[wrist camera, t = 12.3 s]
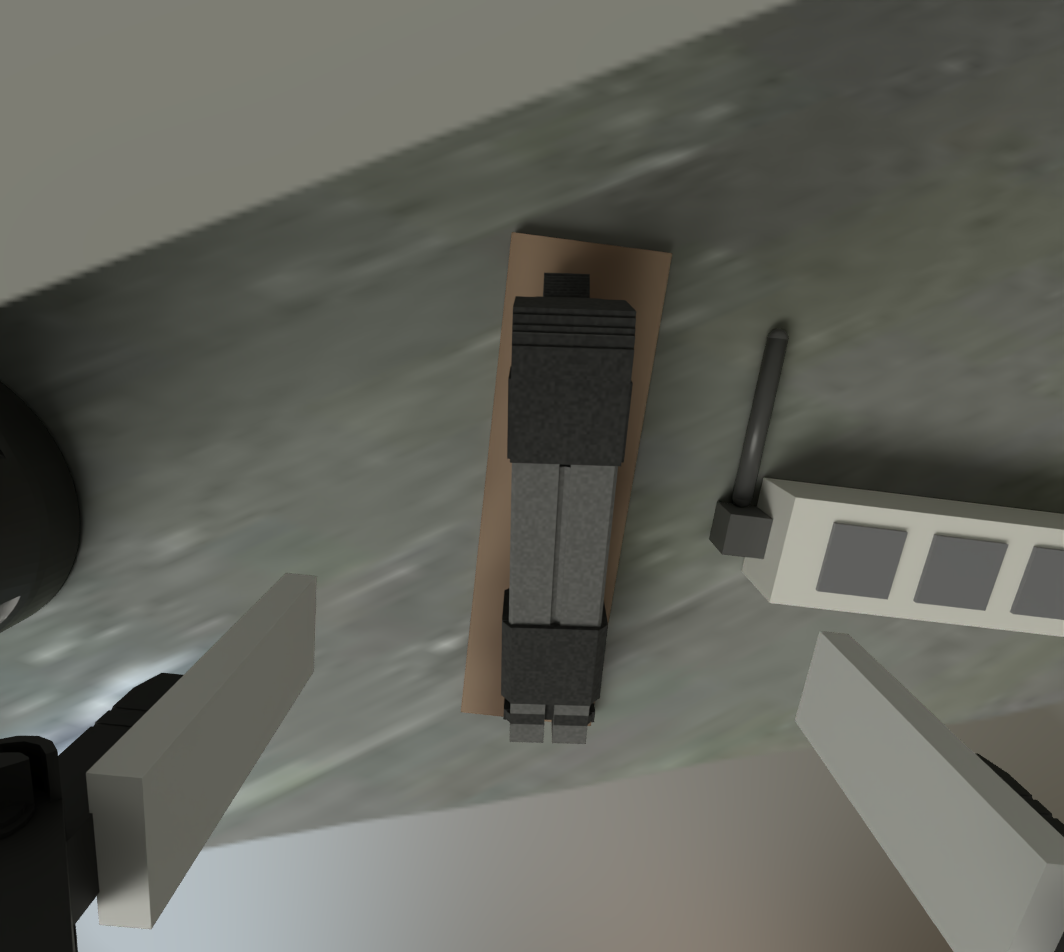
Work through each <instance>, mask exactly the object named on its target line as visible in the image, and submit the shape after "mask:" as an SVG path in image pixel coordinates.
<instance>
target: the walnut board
mask: <svg viewBox="0 0 1064 952" xmlns="http://www.w3.org/2000/svg"><path fill="white" fill-rule="evenodd" d="M671 258H672V253H666V252H659V251H651V250H643V249H636V248H628V247H621V246H613V245H605V244H598V243H590V242H583V241H575V240H567V239H560V238H552V237H545V236H537V235H529V234H522V233H514V232H512V235H511V245H510V254H509V263H508V273H507V282H506V292H505V301H504V311H503V320H502V329H501V339H500V348H499V358H498V367H497V377H496V386H495V395H494V405H493V414H492V424H491V433H490V443H489V452H488V461H487V471H486V480H485V490H484V499H483V508H482V518H481V527H480V537H479V546H478V556H477V565H476V574H475V584H474V593H473V603H472V612H471V622H470V631H469V640H468V650H467V659H466V669H465V678H464V687H463V697H462V706H461V712H465V713H474V714H484V715H493V716H502V717H504V697H503V696H501V652H502V613H503V602H504V590H506V589H508V588H509V586H510V532H511V478H512V463H510V459H507V430H508V377H509V372H510V366H511V356H512V319H513V304H514V301H515V297H516V296H523V297H536V296H540V297H543V284H544V272H545V273H573V274H590V298H597V299H609V300H626V301H627V302H628V303H629V304H630V305H631V306H632V307H633V308H634V309H635V310H636V325H635V329H636V330H635V345H634V359H633V368H632V377H631V380H632V382H633V386H632V395H631V404H630V413H629V422H628V431H627V440H626V448H625V457H624V463H621V466H618V472H617V482H616V491H615V500H614V509H613V519H612V528H611V537H610V547H609V556H608V565H607V574H606V584H605V593H604V604H605V609H606V615H607V621H608V622H609V617H610V611H611V605H612V599H613V593H614V588H615V582H616V576H617V570H618V565H619V559H620V553H621V547H622V541H623V536H624V530H625V524H626V518H627V512H628V507H629V501H630V495H631V489H632V484H633V478H634V472H635V466H636V460H637V455H638V449H639V443H640V437H641V432H642V426H643V420H644V414H645V408H646V403H647V397H648V391H649V385H650V379H651V374H652V368H653V362H654V356H655V351H656V345H657V339H658V333H659V327H660V322H661V316H662V310H663V304H664V298H665V293H666V287H667V281H668V275H669V270H670V264H671ZM607 628H608V627H607ZM594 703H595V702H594ZM544 721H548V722H552V720H544ZM588 726H591V722H590V723H589V724H588Z"/></svg>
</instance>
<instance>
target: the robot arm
mask: <svg viewBox="0 0 1064 952" xmlns="http://www.w3.org/2000/svg"><path fill="white" fill-rule="evenodd" d="M79 529H80V521H79V508H78V501H77V496H76V491H75V488H74V484H73V481H72V478H71V475H70V472H69V469H68V467H67V465H66V462H65V460H64V458H63V456H62V454H61V452H60V450H59V448H58V447H57V445H56V443H55V442H54V440H53V438H52V437H51V435H50V434H49V432H48V431H47V429H46V428H45V427H44V425H43V424H42V423H41V421H40V420H39V419H38V418H37V416H36V415H35V414H34V413H33V412H32V411H31V410H30V408H29V407H28V406H27V405H26V404H25V403H24V402H23V401H22V400H21V399H20V398H19V397H18V396H16V395H15V394H14V393H13V392H12V391H11V390H10V389H9V388H7V387H6V386H5V385H3V384H2V383H1V382H0V633H1V632H3V631H4V630H6V629H8V628H10V627H12V626H13V625H15V624H17V623H19V622H21V621H22V620H24V619H26V618H28V617H29V616H31V615H33V614H34V613H36V612H37V611H38V610H40V609H41V608H42V607H43V606H45V605H46V604H47V603H48V602H49V601H50V600H51V599H52V598H53V597H54V596H55V594H56V593H57V592H58V591H59V589H60V588H61V586H62V585H63V583H64V582H65V580H66V578H67V576H68V574H69V572H70V570H71V568H72V565H73V562H74V559H75V556H76V552H77V547H78V541H79ZM316 580H317V576H311V575H301V574H292V573H285V574H284V575H283V576H282V577H281V578H280V579H279V580H278V581H277V582H276V583H275V584H274V585H273V586H272V587H271V588H270V589H269V590H268V591H267V592H266V593H265V594H264V595H263V596H262V597H261V598H260V599H259V600H258V601H257V602H256V603H255V604H254V605H253V606H252V607H251V608H250V609H249V610H248V611H247V612H246V613H245V614H244V615H243V616H242V617H241V618H240V619H239V620H238V621H237V622H236V623H235V624H234V625H233V626H232V627H231V628H230V629H229V630H228V631H227V632H226V633H225V634H224V635H223V636H222V637H221V638H220V639H219V640H218V641H217V642H216V643H215V644H214V645H213V646H212V647H211V648H210V649H209V650H208V651H207V652H206V653H205V654H204V655H203V656H202V657H201V658H200V659H199V660H198V661H197V662H196V663H195V664H194V665H193V666H192V667H191V668H190V669H189V670H188V671H187V672H186V673H185V674H184V675H179V674H169V673H161V674H159V675H157V676H155V677H153V678H151V679H149V680H147V681H145V682H144V683H142V684H140V685H138V686H136V687H134V688H133V689H132V690H131V691H129V692H128V693H127V694H126V695H125V696H124V697H123V698H122V699H121V700H119V701H118V702H117V703H116V704H115V705H114V706H113V708H112V710H111V711H110V710H108V711H107V712H106V713H105V714H104V715H103V716H102V717H101V718H100V719H98V720H97V721H96V722H95V725H94V727H90V728H88V729H87V730H86V731H85V732H84V733H83V734H82V735H81V736H80V737H78V738H77V739H76V740H75V741H74V742H73V743H72V744H71V745H70V746H69V747H67V748H66V749H65V750H64V751H63V752H62V753H61V754H60V755H59V756H58V752H57V749H56V747H55V746H54V744H53V742H52V741H50V740H48V739H45V738H42V737H40V736H14V737H9V738H4V739H0V952H78V948H77V935H76V926H75V923H76V922H77V921H78V920H79V918H80V917H81V916H82V914H83V913H84V912H85V910H86V909H87V908H88V906H89V905H90V904H91V903H92V901H93V900H94V899H95V897H96V896H97V903H98V914H99V924H100V925H106V926H119V927H130V928H141V929H142V928H143V929H152V927H153V926H154V924H155V923H156V921H157V919H158V918H159V916H160V914H161V913H162V912H163V910H164V908H165V907H166V905H167V904H168V902H169V900H170V899H171V897H172V896H173V894H174V892H175V891H176V889H177V887H178V886H179V885H180V883H181V881H182V880H183V878H184V877H185V875H186V873H187V872H188V870H189V869H190V867H191V865H192V864H193V862H194V861H195V859H196V858H197V856H198V854H199V853H200V851H201V850H202V848H203V846H204V845H205V843H206V842H207V840H208V838H209V837H210V835H211V834H212V832H213V831H214V829H215V827H216V826H217V824H218V823H219V821H220V819H221V818H222V816H223V815H224V813H225V811H226V810H227V808H228V807H229V805H230V804H231V802H232V800H233V799H234V797H235V796H236V794H237V792H238V791H239V789H240V788H241V786H242V784H243V783H244V781H245V780H246V778H247V777H248V775H249V773H250V772H251V770H252V769H253V767H254V765H255V764H256V762H257V761H258V759H259V757H260V756H261V754H262V753H263V751H264V750H265V748H266V746H267V745H268V743H269V742H270V740H271V738H272V737H273V735H274V734H275V732H276V730H277V729H278V727H279V726H280V724H281V723H282V721H283V719H284V718H285V716H286V715H287V713H288V711H289V710H290V708H291V707H292V705H293V703H294V702H295V700H296V699H297V697H298V696H299V694H300V692H301V691H302V689H303V688H304V686H305V684H306V683H307V681H308V680H309V678H310V676H311V675H312V673H313V672H314V647H315V614H316ZM795 721H796V723H797V724H798V726H799V727H800V729H801V730H802V732H803V733H804V735H805V736H806V737H807V739H808V740H809V742H810V743H811V745H812V746H813V748H814V749H815V751H816V752H817V753H818V755H819V756H820V758H821V759H822V760H823V762H824V763H825V765H826V767H827V768H828V769H829V771H830V772H831V774H832V775H833V777H834V778H835V780H836V781H837V782H838V784H839V785H840V787H841V788H842V790H843V791H844V793H845V794H846V796H847V797H848V799H849V800H850V801H851V803H852V804H853V806H854V807H855V809H856V810H857V812H858V813H859V814H860V816H861V817H862V819H863V820H864V822H865V823H866V825H867V826H868V828H869V829H870V831H871V832H872V833H873V835H874V836H875V838H876V839H877V841H878V842H879V844H880V845H881V846H882V848H883V849H884V851H885V852H886V854H887V855H888V857H889V858H890V859H891V861H892V862H893V864H894V865H895V867H896V868H897V870H898V871H899V873H900V874H901V876H902V877H903V879H904V880H905V881H906V883H907V884H908V886H909V887H910V888H911V890H912V892H913V893H914V895H915V896H916V897H917V899H918V900H919V902H920V903H921V905H922V906H923V908H924V909H925V910H926V912H927V913H928V915H929V916H930V918H931V919H932V921H933V922H934V924H935V925H936V927H937V928H938V929H939V931H940V932H941V934H942V935H943V937H944V938H945V939H946V941H947V943H948V944H949V945H950V947H951V948H952V950H953V951H954V952H1064V824H1063V823H1061V822H1060V821H1059V820H1058V819H1056V818H1053V817H1052V813H1050V812H1049V811H1048V810H1047V809H1046V808H1045V807H1044V806H1043V805H1042V804H1041V803H1040V802H1039V801H1037V800H1033V799H1032V795H1031V794H1030V793H1029V792H1028V791H1027V790H1026V789H1024V788H1023V787H1022V786H1021V785H1020V784H1019V783H1018V782H1017V781H1016V780H1014V778H1012V777H1011V776H1010V775H1009V774H1008V773H1007V772H1005V771H1003V770H1002V769H1000V768H999V767H998V766H996V765H994V764H993V763H991V762H990V761H988V760H987V759H985V758H984V757H982V756H981V755H979V754H976V753H974V752H973V751H972V750H971V749H970V748H969V747H967V746H966V745H965V744H964V743H963V742H962V741H961V740H960V739H959V738H958V737H957V736H956V735H955V734H954V733H952V732H951V730H949V729H948V728H947V727H946V726H945V725H944V724H943V723H942V722H941V721H940V720H939V719H938V718H937V717H936V716H935V715H934V714H932V713H931V712H930V711H929V710H928V709H927V708H926V707H925V706H924V705H923V704H922V703H921V702H920V701H919V700H918V699H917V698H916V697H914V696H913V695H912V694H911V693H910V692H909V691H908V690H907V689H906V688H905V687H904V686H903V685H902V684H901V683H900V682H899V681H897V680H896V679H895V678H894V677H893V676H892V675H891V674H890V673H889V672H888V671H887V670H886V669H885V668H884V667H883V666H882V665H881V664H879V663H878V662H877V661H876V660H875V659H874V658H873V657H872V656H871V655H870V654H869V653H868V652H867V651H866V650H865V649H864V648H862V647H861V646H860V645H859V644H858V643H857V642H856V641H855V640H854V639H853V638H852V637H851V636H850V635H849V634H844V633H834V632H825V631H820V632H819V636H818V639H817V643H816V647H815V650H814V654H813V657H812V661H811V665H810V668H809V672H808V675H807V679H806V682H805V686H804V690H803V693H802V697H801V700H800V704H799V708H798V711H797V715H796V718H795Z"/></svg>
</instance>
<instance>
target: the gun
mask: <svg viewBox="0 0 1064 952" xmlns="http://www.w3.org/2000/svg"><path fill="white" fill-rule="evenodd" d="M635 325H636V310H635V309H634V308H633V307H632V306H631V305H630V304H629V303H628V302H627V301H626V300H609V299H597V298H590V274H573V273H545V272H544V284H543V297H540V296H536V297H523V296H516V297H515V301H514V304H513V319H512V356H511V366H510V372H509V377H508V430H507V459H510V463H512V478H511V532H510V586H509V588H508V589H506V590H504V602H503V613H502V652H501V696H503V697H504V719H507V720H508V721H509V722H510V742H537V743H543V737H544V720H552V743H570V744H586V735H587V726H588V724H589V723H590V722H594V717H595V708H594V702H595V701H596V700H597V699H599V697H600V688H601V680H602V671H603V662H604V653H605V645H606V636H607V627H608V621H607V615H606V609H605V604H604V593H605V584H606V574H607V565H608V556H609V547H610V537H611V528H612V519H613V509H614V500H615V491H616V482H617V472H618V466H621V463H624V457H625V448H626V440H627V431H628V422H629V413H630V404H631V395H632V386H633V382H632V380H631V377H632V368H633V359H634V345H635V330H636V329H635Z"/></svg>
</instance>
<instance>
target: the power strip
mask: <svg viewBox="0 0 1064 952" xmlns="http://www.w3.org/2000/svg"><path fill="white" fill-rule="evenodd" d="M788 339H789V336H788V333H787V332H786V331H785V330H783V329H774V330H772V331H771V332H770V333H769V335H768V337H767V341H766V346H765V350H764V355H763V359H762V364H761V369H760V373H759V378H758V382H757V387H756V391H755V396H754V401H753V405H752V410H751V414H750V419H749V423H748V428H747V432H746V437H745V442H744V446H743V451H742V455H741V460H740V464H739V469H738V473H737V478H736V483H735V487H734V492H733V496H732V499H733V502H734V504H732V503H724V502H717V505H716V510H715V514H714V519H713V524H712V528H711V533H710V538H709V540H710V541H711V542H712V543H713V544H714V545H715V547H716V548H717V549H718V550H719V551H720V552H721V554H724V555H732V556H741V557H745V559H744V563H743V568H742V572H743V573H744V574H745V575H746V577H747V578H748V579H749V580H750V581H751V582H752V583H753V585H754V586H755V587H756V588H757V589H758V590H759V591H760V593H761V594H762V595H763V596H764V597H765V598H766V599H767V600H768V602H769V603H776V604H784V605H793V606H802V607H810V608H819V609H828V610H836V611H845V612H854V613H862V614H871V615H880V616H888V617H897V618H906V619H914V620H923V621H932V622H940V623H949V624H958V625H966V626H975V627H984V628H992V629H1001V630H1010V631H1018V632H1027V633H1036V634H1044V635H1053V636H1062V637H1064V514H1060V513H1052V512H1044V511H1036V510H1027V509H1019V508H1011V507H1003V506H994V505H986V504H978V503H970V502H961V501H953V500H945V499H937V498H928V497H920V496H912V495H904V494H896V493H887V492H879V491H871V490H863V489H854V488H846V487H838V486H830V485H821V484H813V483H805V482H797V481H788V480H780V479H772V478H764V477H763V481H762V486H761V490H760V494H759V499H758V503H757V506H749V504H750V503H751V501H752V497H753V493H754V488H755V484H756V480H757V475H758V471H759V467H760V462H761V458H762V453H763V449H764V445H765V440H766V436H767V432H768V427H769V423H770V418H771V414H772V410H773V405H774V401H775V397H776V392H777V388H778V383H779V379H780V375H781V370H782V366H783V362H784V357H785V353H786V348H787V344H788Z"/></svg>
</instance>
